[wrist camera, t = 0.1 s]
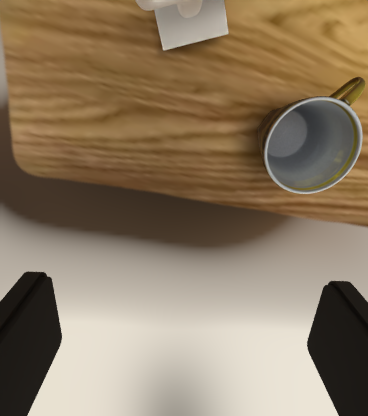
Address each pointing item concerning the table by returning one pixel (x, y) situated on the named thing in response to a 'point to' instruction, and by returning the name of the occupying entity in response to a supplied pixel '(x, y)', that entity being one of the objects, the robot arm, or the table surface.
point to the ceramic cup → (312, 140)
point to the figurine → (187, 20)
